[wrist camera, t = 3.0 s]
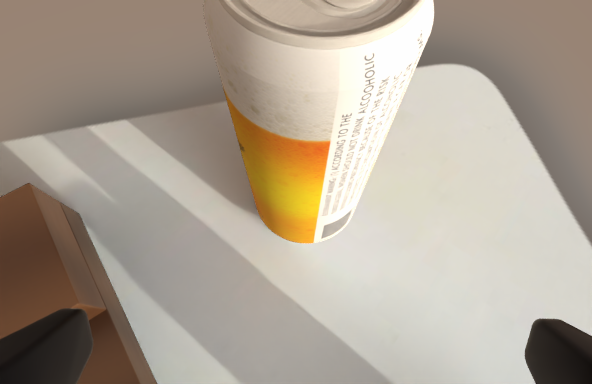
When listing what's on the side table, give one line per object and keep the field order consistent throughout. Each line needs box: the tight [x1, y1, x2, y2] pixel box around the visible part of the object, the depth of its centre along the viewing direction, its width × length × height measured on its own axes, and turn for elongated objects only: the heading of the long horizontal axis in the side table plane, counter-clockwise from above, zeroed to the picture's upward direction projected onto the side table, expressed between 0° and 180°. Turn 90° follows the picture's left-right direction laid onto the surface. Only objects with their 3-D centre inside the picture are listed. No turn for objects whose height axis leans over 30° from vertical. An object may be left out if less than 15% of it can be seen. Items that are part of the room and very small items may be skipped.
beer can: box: [203, 0, 434, 243], centre depth 15 cm, size 6×6×15 cm
